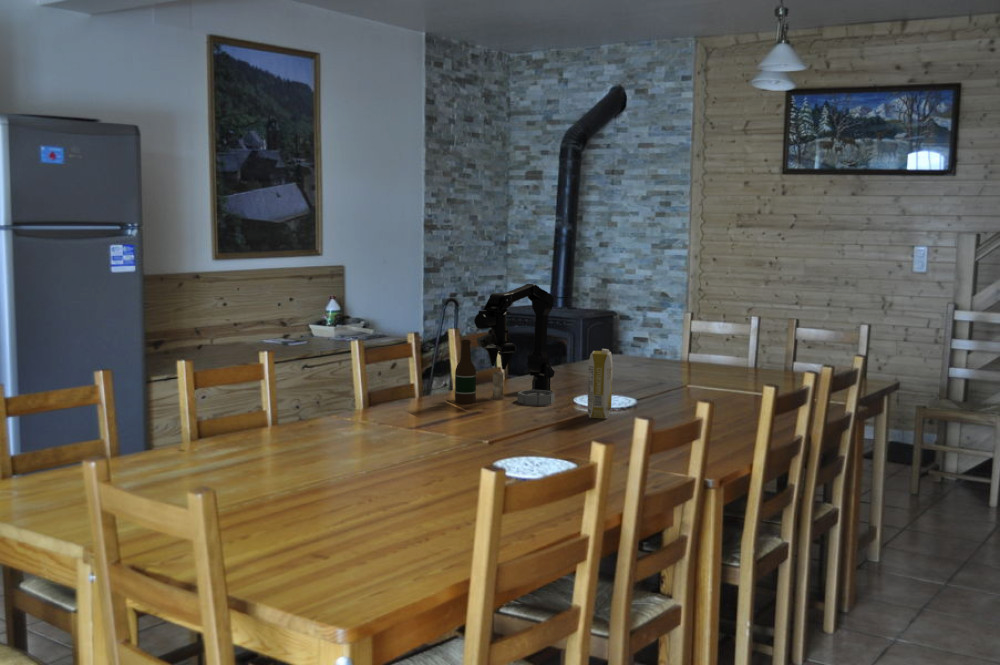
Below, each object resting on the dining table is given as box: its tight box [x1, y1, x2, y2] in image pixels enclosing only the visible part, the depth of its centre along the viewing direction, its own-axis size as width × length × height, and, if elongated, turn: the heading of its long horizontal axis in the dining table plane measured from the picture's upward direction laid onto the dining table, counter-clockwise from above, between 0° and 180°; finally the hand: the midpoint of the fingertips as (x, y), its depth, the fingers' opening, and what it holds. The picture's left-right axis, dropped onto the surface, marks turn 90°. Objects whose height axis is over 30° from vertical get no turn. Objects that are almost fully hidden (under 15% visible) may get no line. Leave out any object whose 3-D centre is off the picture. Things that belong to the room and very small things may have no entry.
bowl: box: [517, 389, 556, 408], centre depth 370 cm, size 13×13×4 cm
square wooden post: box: [492, 370, 505, 399], centre depth 376 cm, size 3×3×10 cm
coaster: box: [482, 395, 514, 402], centre depth 376 cm, size 9×9×1 cm
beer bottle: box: [454, 339, 477, 405], centre depth 366 cm, size 8×8×24 cm
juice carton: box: [587, 348, 614, 420], centre depth 346 cm, size 9×8×24 cm
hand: (498, 367), depth 375 cm, fingers open, 9 cm apart
